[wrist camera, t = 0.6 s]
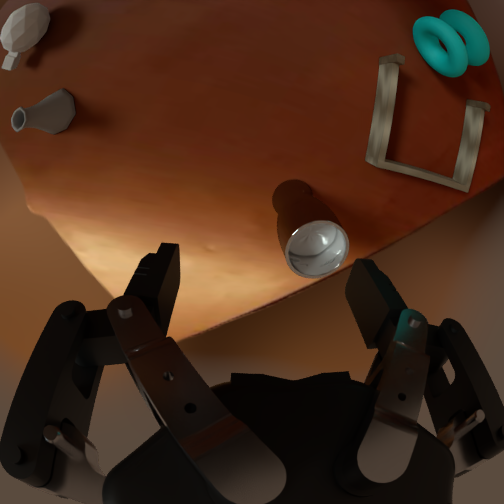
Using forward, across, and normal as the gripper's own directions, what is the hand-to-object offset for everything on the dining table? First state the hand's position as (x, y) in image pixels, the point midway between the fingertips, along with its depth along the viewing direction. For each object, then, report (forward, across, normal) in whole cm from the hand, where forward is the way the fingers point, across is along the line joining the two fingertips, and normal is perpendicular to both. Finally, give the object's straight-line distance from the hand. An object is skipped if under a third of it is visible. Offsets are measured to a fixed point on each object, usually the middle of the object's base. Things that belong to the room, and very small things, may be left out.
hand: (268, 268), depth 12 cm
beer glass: (+27, -7, +6) cm, 29 cm away
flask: (+28, +30, -7) cm, 42 cm away
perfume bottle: (+28, +38, -22) cm, 53 cm away
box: (+27, -27, -9) cm, 39 cm away
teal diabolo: (+28, -26, -25) cm, 46 cm away
